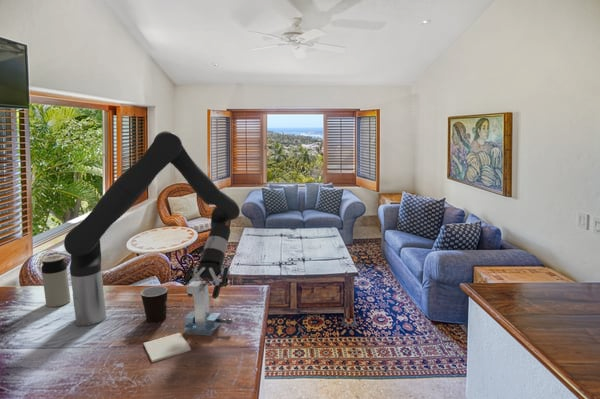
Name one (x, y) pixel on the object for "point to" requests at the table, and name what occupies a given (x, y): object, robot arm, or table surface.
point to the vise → (208, 330)
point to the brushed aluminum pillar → (200, 301)
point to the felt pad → (166, 347)
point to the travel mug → (55, 280)
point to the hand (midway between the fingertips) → (201, 296)
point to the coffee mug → (155, 303)
